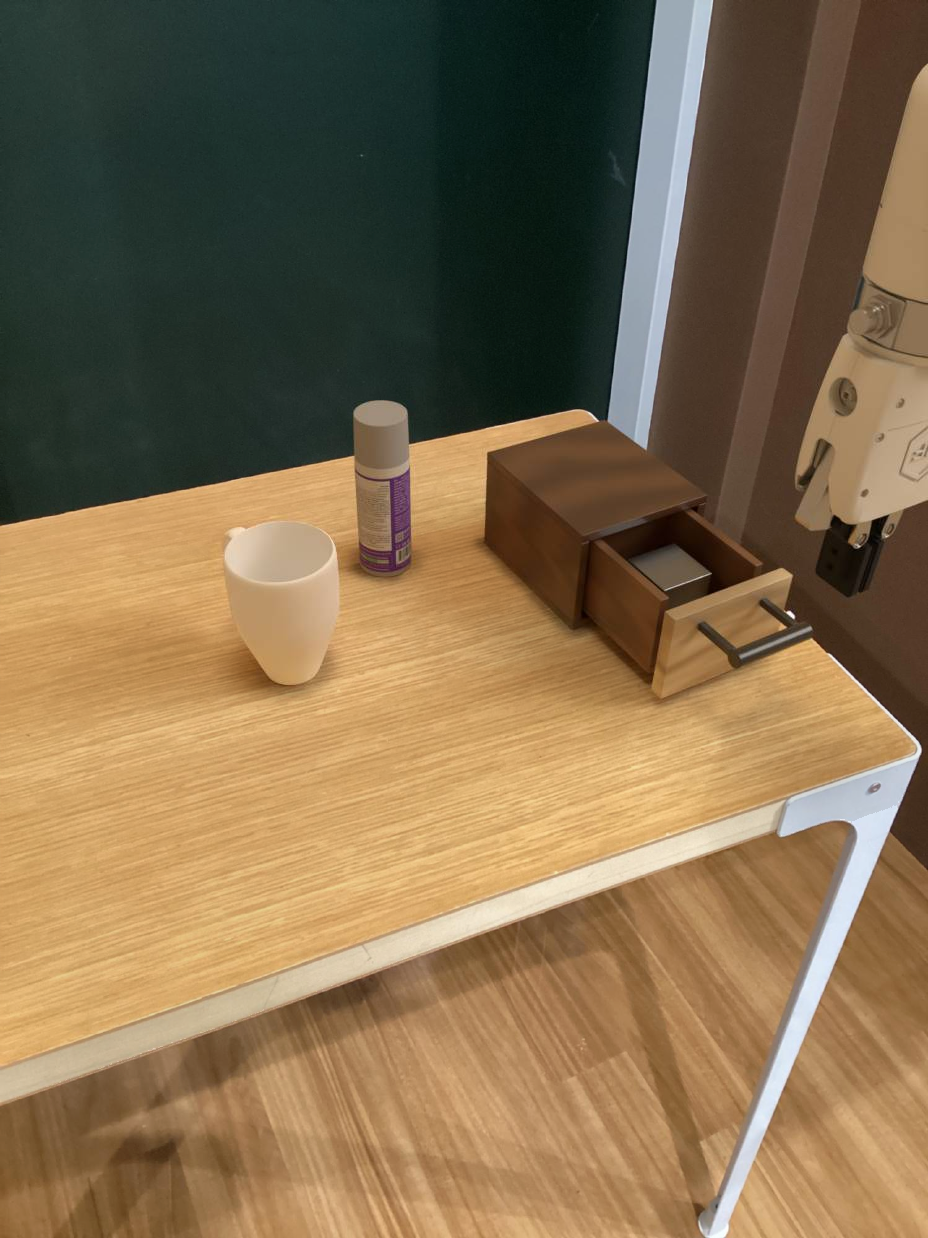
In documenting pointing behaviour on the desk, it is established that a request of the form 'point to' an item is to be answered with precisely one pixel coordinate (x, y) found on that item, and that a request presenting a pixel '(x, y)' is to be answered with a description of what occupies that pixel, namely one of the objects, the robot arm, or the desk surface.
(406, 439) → the container
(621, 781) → the desk surface
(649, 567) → the block
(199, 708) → the desk surface
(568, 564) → the cabinet
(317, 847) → the desk surface
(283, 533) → the mug
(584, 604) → the drawer
